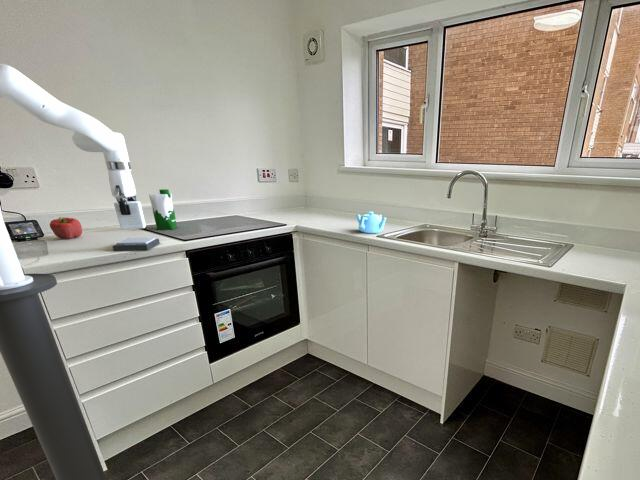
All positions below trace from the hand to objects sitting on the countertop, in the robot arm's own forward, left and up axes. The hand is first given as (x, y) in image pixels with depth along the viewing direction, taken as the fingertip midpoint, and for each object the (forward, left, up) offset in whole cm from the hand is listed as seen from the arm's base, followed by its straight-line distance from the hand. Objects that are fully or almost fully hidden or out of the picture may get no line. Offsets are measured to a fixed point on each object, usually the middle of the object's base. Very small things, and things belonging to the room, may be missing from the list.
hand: (130, 213), depth 143 cm
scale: (-1, 0, -14) cm, 14 cm away
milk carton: (+43, +3, -14) cm, 46 cm away
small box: (0, 0, -6) cm, 6 cm away
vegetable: (+20, +35, -14) cm, 43 cm away
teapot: (+29, -105, -14) cm, 110 cm away
